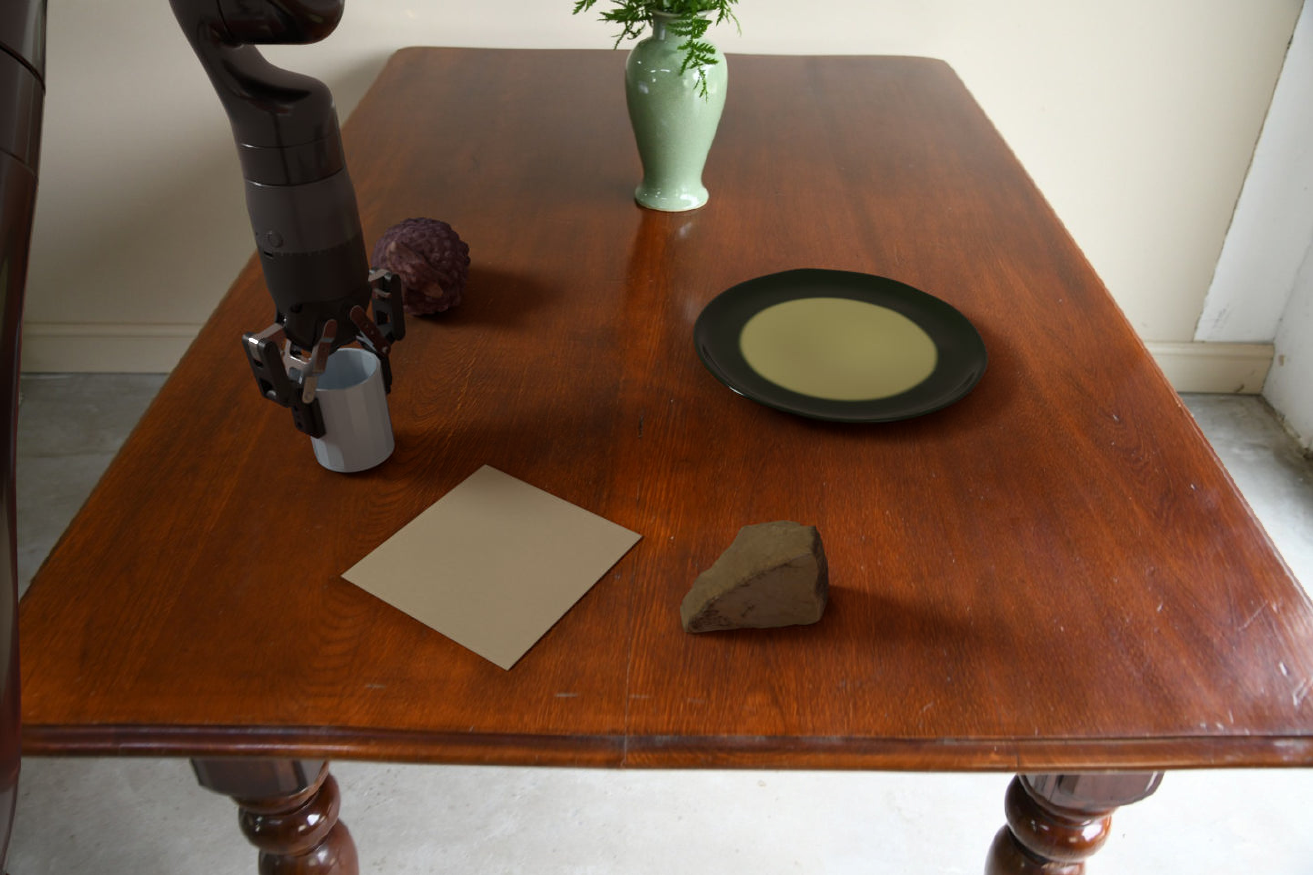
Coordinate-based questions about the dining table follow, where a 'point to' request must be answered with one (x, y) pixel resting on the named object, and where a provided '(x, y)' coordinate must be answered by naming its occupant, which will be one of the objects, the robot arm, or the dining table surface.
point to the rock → (761, 581)
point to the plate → (840, 346)
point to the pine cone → (425, 263)
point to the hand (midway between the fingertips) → (347, 412)
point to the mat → (493, 563)
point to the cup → (353, 412)
